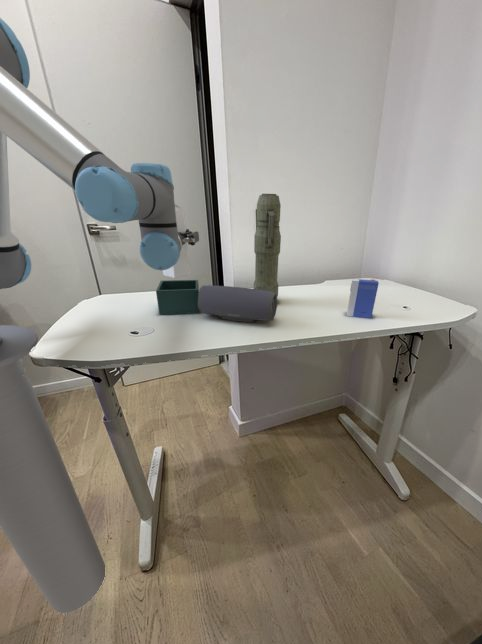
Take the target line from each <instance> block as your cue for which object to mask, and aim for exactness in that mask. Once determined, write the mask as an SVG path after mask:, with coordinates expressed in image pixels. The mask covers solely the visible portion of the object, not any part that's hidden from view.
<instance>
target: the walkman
mask: <svg viewBox="0 0 482 644" xmlns="http://www.w3.org/2000/svg"><path fill="white" fill-rule="evenodd" d="M379 284H380V283H379V281H378V280H376V279H374V278H372V279H361V278H360V279H359V278H353V279H352V280H351V283H350V290H349V291H350V292H349V298H348V305H347V310H346V317H354V318H365V319H366V318H367V319H372V317H373V312H374V309H375V308H374V307H375V302H376V298H377V293H378V288H379Z"/></svg>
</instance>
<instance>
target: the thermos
mask: <svg viewBox="0 0 482 644" xmlns="http://www.w3.org/2000/svg"><path fill="white" fill-rule="evenodd" d="M281 206H282V205H281V201H280V196H279V195H278V194H277V193H261V194H259V196H258V199H257V202H256V229H255V232H254V241H253V242H254V244H253V248H254V249H253V251H254V254H255V264H254V265H255V266H254V267H255V269H254V270H255V271H254V281H253V289H258V290H265V291H271V292H275V293H276V296H277V297H278V296H279V282H278V274H279V273H278V272H279V255H280V253H281V245H282V244H281V243H282V242H281V241H282V235H281V230H280V229H281V228H280V222H281Z"/></svg>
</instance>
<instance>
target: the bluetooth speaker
mask: <svg viewBox="0 0 482 644" xmlns="http://www.w3.org/2000/svg"><path fill="white" fill-rule="evenodd" d="M198 308H199V310H200V313H204V314H209V315H214V316H220V318H221V319H223V320H227V321H234V322H243V323H253V322H254V321H274V319H275V317H276V314H277V308H278V296H276V293H275V292H271V291H265V290H258V289H254V288H251V287H242V286H241V287H240V286H229V285H228V286H227V285H211V284H209V285H202V286H201V287H200V288H199V295H198Z"/></svg>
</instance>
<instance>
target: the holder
mask: <svg viewBox="0 0 482 644" xmlns="http://www.w3.org/2000/svg"><path fill="white" fill-rule="evenodd" d="M199 287H200V286H199V279H179V280H178V279H174V280H173V279H172V280H170V279H169V280H160V281H159V283H158V286H157V288H156V290H155V294H156V301H157V307H158V314H159V316H164V315H166V316H167V315H187V314H188V315H191V314H192V315H193V314H200V313H201V311H200V310H199V308H198V295H199V290H200V288H199Z"/></svg>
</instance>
